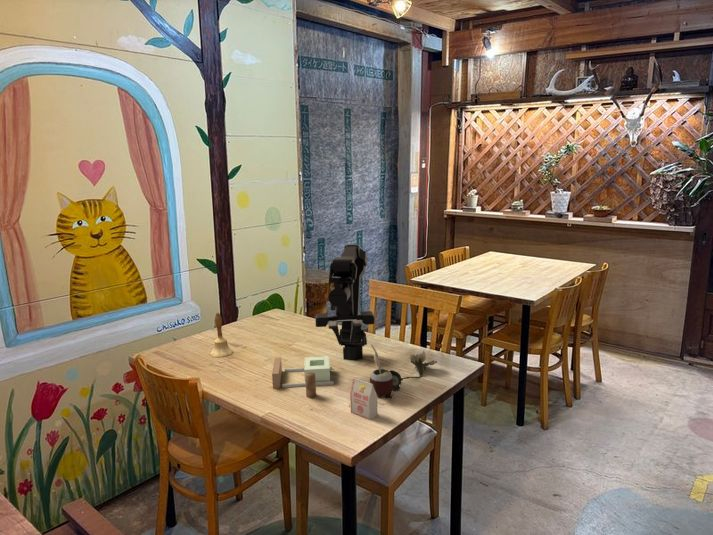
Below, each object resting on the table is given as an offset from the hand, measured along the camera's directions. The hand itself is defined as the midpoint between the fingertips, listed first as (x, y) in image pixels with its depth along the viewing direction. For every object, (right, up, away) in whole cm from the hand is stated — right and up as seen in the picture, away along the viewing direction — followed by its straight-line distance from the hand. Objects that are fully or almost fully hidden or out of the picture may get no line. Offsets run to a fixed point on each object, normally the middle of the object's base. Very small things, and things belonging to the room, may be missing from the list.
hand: (345, 344), depth 167 cm
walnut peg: (-10, -15, -11) cm, 21 cm away
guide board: (-13, -12, +2) cm, 18 cm away
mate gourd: (+11, -15, -10) cm, 21 cm away
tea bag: (+6, -17, -21) cm, 27 cm away
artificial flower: (+21, -12, +2) cm, 24 cm away
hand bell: (-47, -8, +28) cm, 55 cm away
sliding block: (-9, -11, +2) cm, 14 cm away
